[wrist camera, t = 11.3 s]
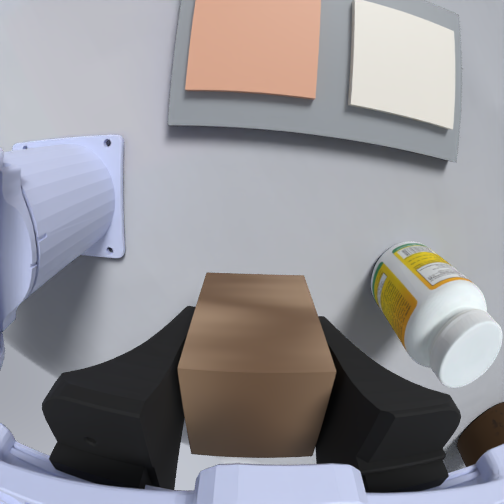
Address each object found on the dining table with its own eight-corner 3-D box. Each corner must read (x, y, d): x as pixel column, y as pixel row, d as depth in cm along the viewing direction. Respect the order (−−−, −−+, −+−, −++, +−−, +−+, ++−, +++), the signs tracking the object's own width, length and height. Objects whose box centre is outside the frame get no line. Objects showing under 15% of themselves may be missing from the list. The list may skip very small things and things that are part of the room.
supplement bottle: (409, 223, 19) (497, 284, 10) (444, 272, 21) (521, 343, 12) (353, 278, 21) (409, 370, 12) (394, 321, 22) (450, 410, 13)
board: (171, 125, 18) (164, 124, 16) (190, -29, 14) (185, -40, 12) (448, 160, 18) (461, 163, 16) (451, 18, 14) (463, 12, 13)
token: (209, 350, 14) (191, 454, 9) (206, 272, 13) (177, 368, 7) (294, 352, 15) (312, 455, 9) (303, 275, 13) (336, 371, 8)
